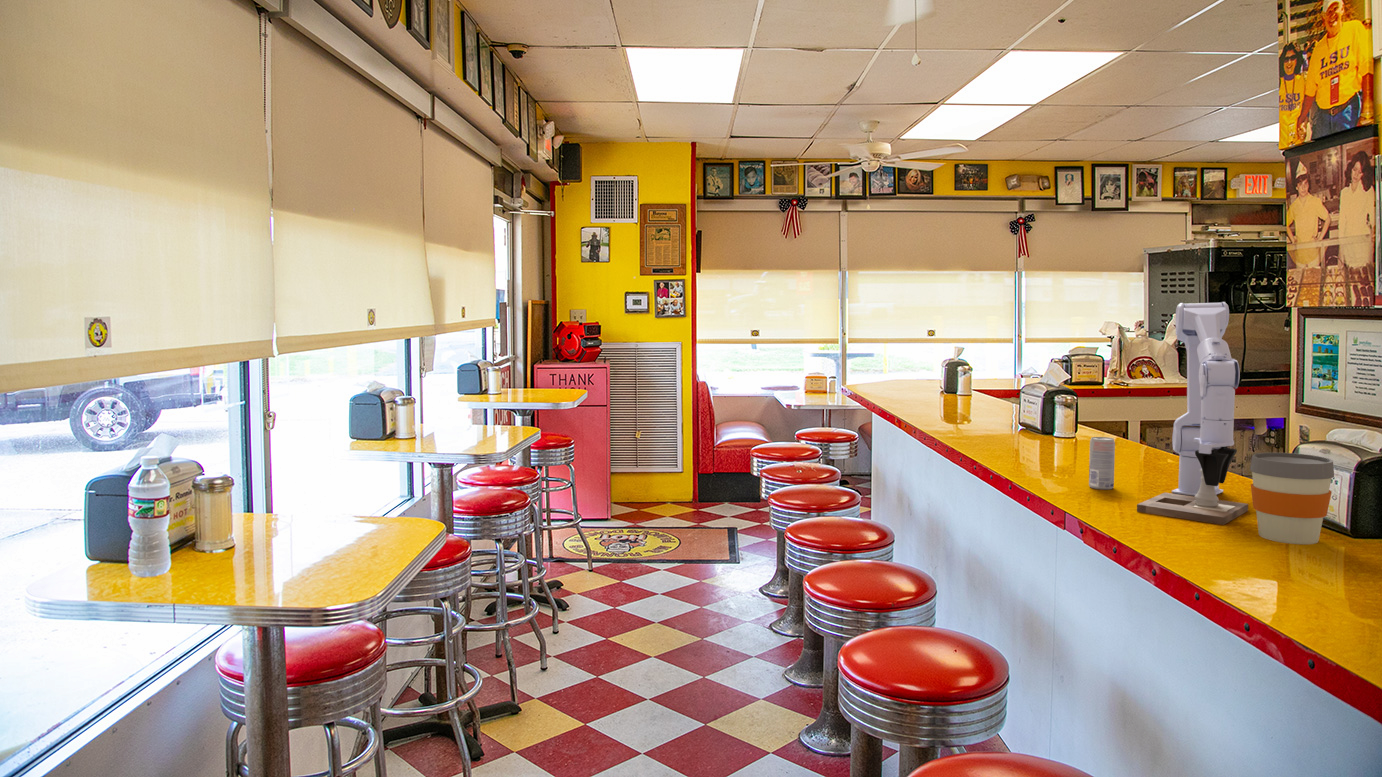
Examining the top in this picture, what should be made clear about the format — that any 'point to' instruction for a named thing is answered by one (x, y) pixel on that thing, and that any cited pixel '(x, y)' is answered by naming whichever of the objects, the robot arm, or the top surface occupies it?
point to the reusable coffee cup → (1291, 495)
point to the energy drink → (1101, 463)
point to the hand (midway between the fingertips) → (1214, 483)
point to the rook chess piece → (1206, 495)
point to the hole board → (1192, 508)
